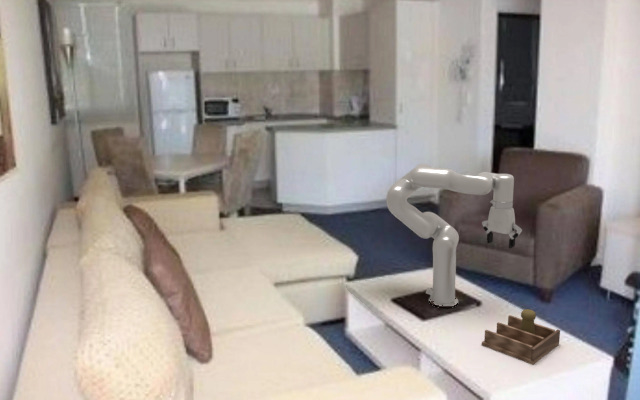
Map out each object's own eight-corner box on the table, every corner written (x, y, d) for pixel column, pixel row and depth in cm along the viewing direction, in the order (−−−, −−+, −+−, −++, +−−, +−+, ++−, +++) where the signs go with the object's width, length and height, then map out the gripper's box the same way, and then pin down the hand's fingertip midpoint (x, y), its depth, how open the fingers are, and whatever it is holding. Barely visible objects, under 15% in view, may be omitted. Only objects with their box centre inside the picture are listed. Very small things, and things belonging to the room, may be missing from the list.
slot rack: (481, 345, 211) (482, 331, 210) (508, 327, 224) (509, 313, 223) (533, 364, 197) (534, 349, 195) (559, 344, 210) (560, 330, 209)
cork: (536, 342, 209) (538, 314, 207) (519, 341, 210) (521, 313, 208) (533, 334, 215) (535, 307, 213) (517, 333, 216) (518, 306, 214)
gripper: (478, 202, 233) (476, 242, 237) (518, 210, 221) (515, 252, 225) (488, 199, 238) (486, 238, 242) (527, 206, 226) (524, 247, 230)
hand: (500, 245), depth 234 cm, fingers open, 9 cm apart
